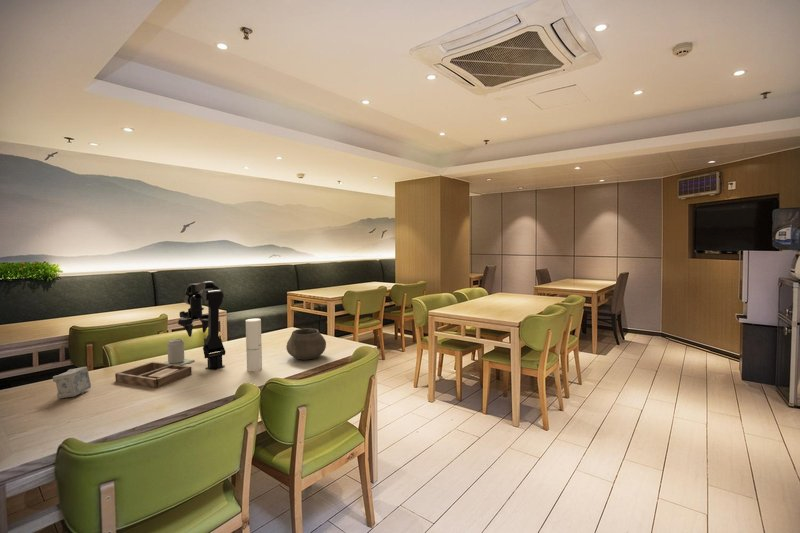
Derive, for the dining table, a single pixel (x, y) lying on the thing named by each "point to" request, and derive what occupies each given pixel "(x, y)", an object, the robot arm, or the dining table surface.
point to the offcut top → (162, 373)
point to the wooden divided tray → (144, 380)
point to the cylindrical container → (253, 344)
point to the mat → (183, 362)
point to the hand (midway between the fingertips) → (197, 334)
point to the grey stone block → (72, 382)
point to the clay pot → (306, 344)
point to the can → (175, 351)
